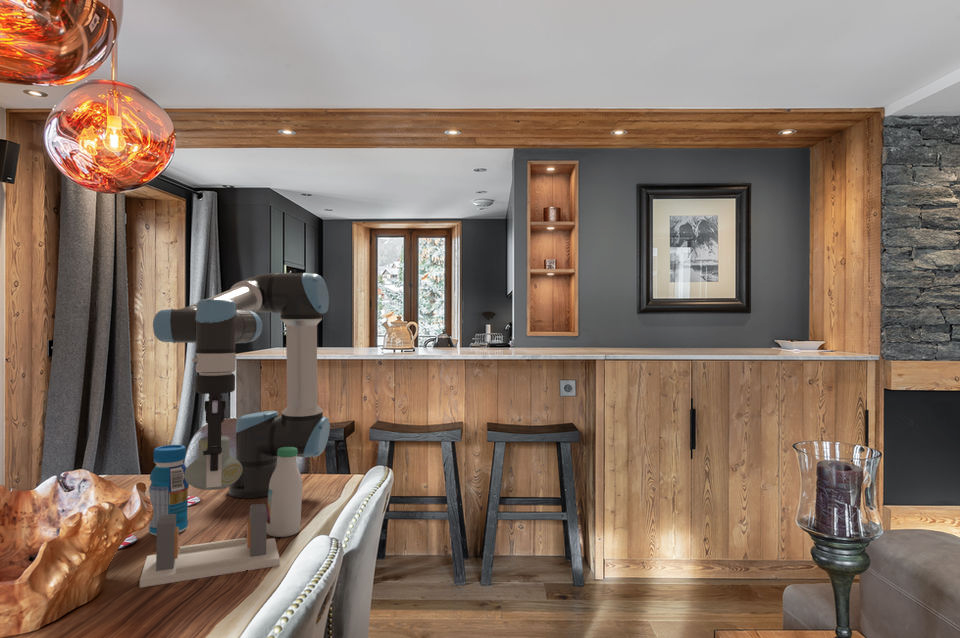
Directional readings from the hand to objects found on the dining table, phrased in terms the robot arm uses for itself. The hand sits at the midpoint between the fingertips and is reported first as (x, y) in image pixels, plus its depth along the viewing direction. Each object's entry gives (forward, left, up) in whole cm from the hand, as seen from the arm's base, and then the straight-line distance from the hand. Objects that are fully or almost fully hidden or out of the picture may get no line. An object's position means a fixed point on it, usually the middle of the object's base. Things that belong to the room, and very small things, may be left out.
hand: (214, 479), depth 118 cm
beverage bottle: (-25, -10, -18) cm, 32 cm away
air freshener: (0, 0, -2) cm, 2 cm away
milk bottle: (-13, +15, -18) cm, 27 cm away
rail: (0, 0, -18) cm, 18 cm away
